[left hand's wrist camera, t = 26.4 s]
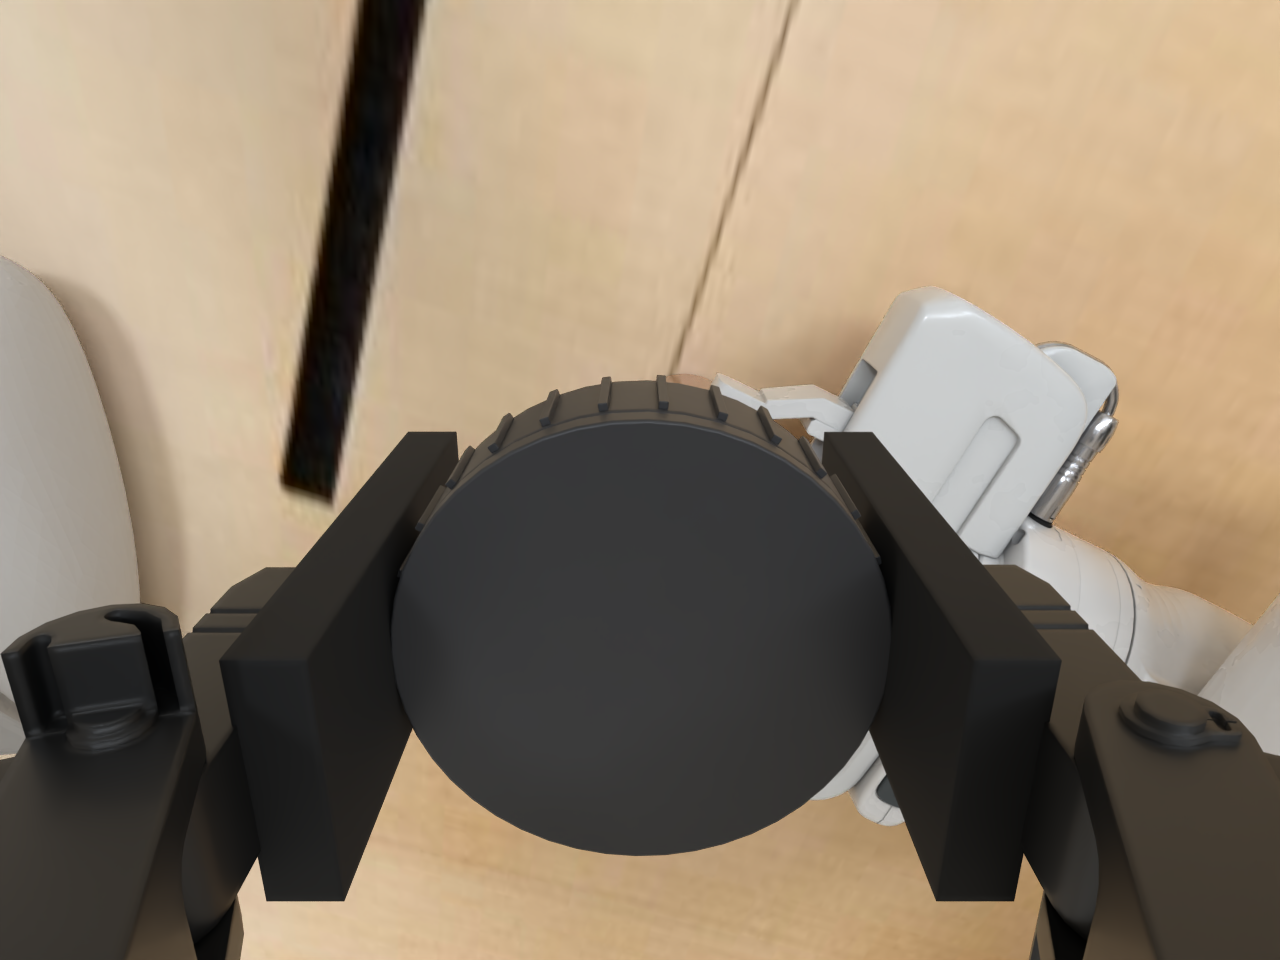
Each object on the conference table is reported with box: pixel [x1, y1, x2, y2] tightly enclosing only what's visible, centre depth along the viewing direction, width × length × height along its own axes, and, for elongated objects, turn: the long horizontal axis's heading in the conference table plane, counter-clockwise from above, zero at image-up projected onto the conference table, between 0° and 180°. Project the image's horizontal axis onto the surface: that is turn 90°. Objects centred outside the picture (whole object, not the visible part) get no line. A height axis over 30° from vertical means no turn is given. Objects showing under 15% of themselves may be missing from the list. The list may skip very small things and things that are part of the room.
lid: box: [390, 375, 892, 856], centre depth 11 cm, size 6×6×2 cm
